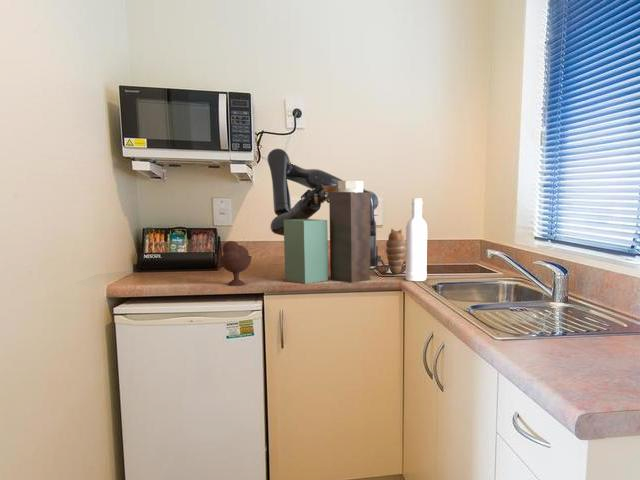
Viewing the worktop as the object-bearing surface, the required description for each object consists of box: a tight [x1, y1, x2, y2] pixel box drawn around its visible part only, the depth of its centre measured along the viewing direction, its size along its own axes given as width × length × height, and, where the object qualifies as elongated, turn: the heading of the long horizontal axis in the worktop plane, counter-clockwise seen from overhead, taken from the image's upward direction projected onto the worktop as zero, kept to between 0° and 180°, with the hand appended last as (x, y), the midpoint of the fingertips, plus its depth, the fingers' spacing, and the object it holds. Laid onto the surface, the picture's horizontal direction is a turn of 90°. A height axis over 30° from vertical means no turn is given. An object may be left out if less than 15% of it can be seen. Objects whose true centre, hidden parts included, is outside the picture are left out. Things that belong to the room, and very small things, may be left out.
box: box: [283, 218, 329, 285], centre depth 186 cm, size 11×11×22 cm
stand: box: [328, 192, 371, 283], centre depth 188 cm, size 10×11×32 cm
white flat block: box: [321, 180, 364, 192], centre depth 188 cm, size 9×20×4 cm, turn 52°
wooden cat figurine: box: [385, 228, 406, 275], centre depth 204 cm, size 9×8×18 cm
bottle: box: [404, 198, 428, 282], centre depth 190 cm, size 8×8×30 cm
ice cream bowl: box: [218, 240, 252, 287], centre depth 176 cm, size 11×11×15 cm
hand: (330, 186), depth 191 cm, fingers open, 8 cm apart
